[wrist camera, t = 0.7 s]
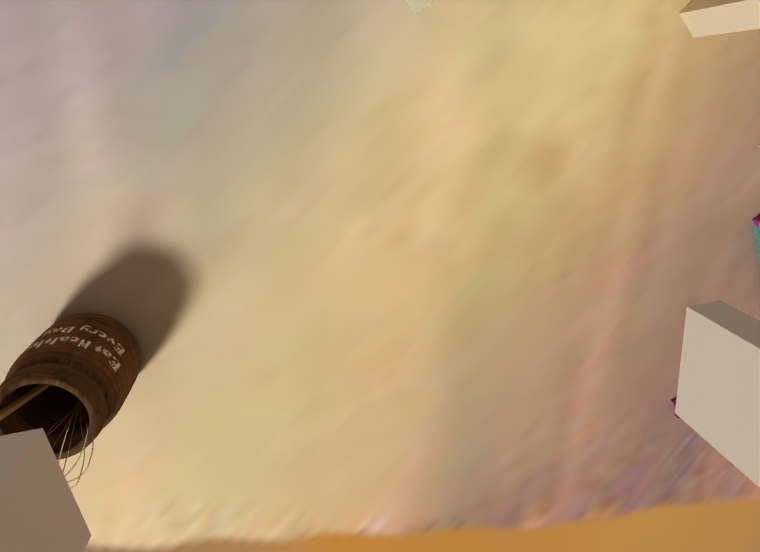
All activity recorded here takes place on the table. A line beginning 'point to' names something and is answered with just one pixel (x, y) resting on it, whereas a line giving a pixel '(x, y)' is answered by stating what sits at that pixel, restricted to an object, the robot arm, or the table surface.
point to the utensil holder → (70, 383)
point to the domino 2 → (721, 16)
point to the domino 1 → (419, 4)
